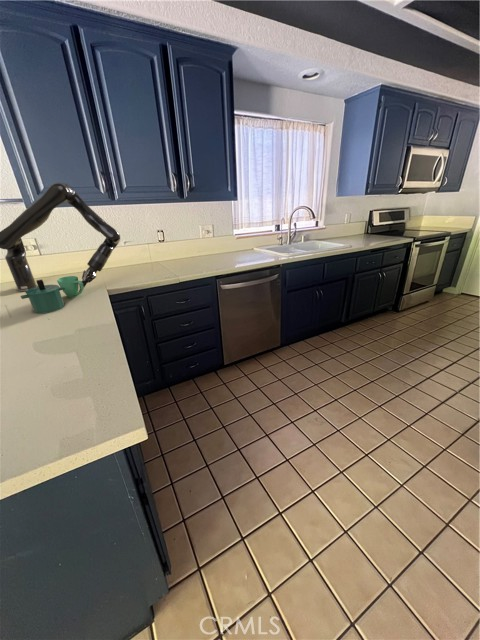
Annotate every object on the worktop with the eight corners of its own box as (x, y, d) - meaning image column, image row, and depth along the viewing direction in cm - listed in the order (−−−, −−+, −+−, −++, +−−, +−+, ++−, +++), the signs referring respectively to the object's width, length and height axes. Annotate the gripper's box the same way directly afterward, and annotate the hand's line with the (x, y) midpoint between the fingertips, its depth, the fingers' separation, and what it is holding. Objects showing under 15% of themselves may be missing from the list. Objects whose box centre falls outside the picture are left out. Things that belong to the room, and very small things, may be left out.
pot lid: (23, 291, 128) (19, 280, 126) (55, 284, 137) (51, 274, 135) (29, 298, 120) (25, 286, 118) (63, 290, 129) (59, 279, 126)
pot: (24, 310, 131) (17, 291, 126) (65, 299, 142) (60, 283, 138) (30, 317, 123) (23, 298, 119) (73, 306, 134) (67, 288, 130)
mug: (58, 298, 145) (52, 280, 140) (73, 292, 153) (68, 275, 149) (78, 300, 141) (73, 283, 136) (93, 294, 149) (88, 277, 144)
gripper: (87, 255, 151) (70, 281, 149) (96, 259, 143) (78, 286, 140) (99, 263, 157) (83, 288, 154) (108, 266, 149) (91, 293, 146)
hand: (81, 287), depth 147 cm, fingers closed
